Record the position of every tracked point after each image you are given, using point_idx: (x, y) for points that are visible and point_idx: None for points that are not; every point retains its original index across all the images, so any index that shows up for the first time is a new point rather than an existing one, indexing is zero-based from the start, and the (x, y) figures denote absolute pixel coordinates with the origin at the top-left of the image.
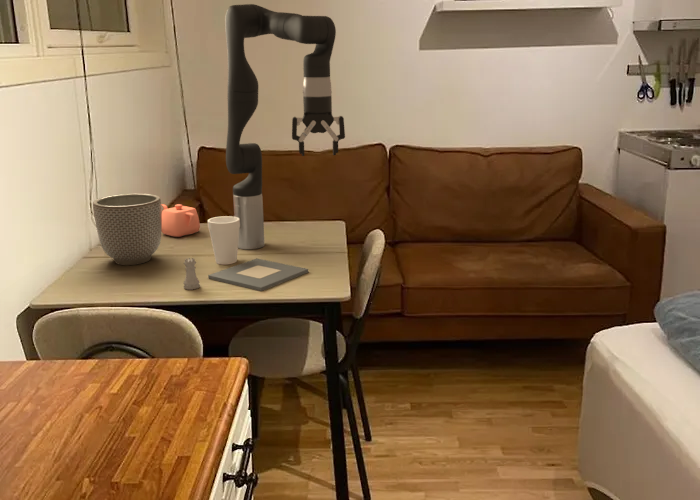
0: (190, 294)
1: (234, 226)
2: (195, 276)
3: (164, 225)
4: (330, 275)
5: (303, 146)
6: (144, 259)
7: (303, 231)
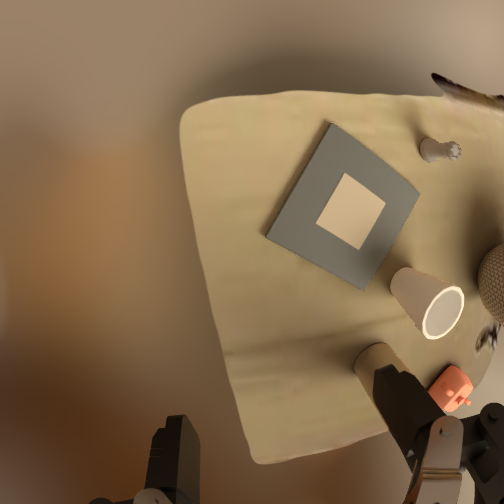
0: (421, 118)
1: (426, 298)
2: (433, 147)
3: (464, 373)
4: (219, 220)
5: (408, 405)
6: (484, 260)
7: (300, 429)
